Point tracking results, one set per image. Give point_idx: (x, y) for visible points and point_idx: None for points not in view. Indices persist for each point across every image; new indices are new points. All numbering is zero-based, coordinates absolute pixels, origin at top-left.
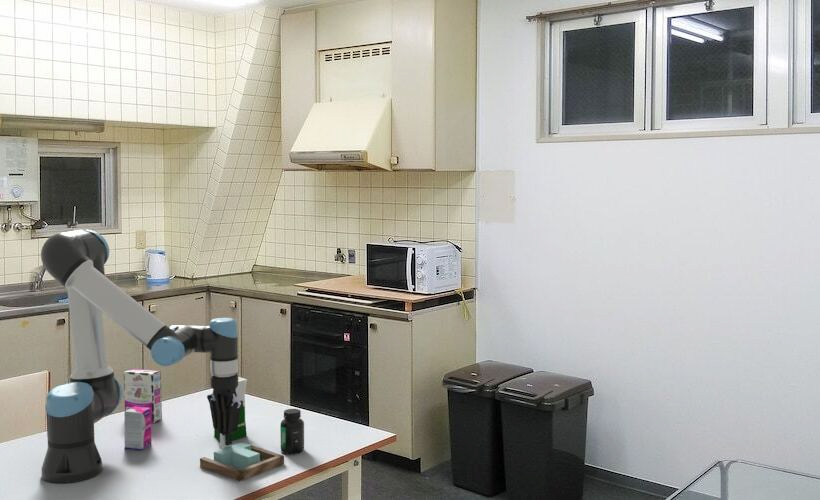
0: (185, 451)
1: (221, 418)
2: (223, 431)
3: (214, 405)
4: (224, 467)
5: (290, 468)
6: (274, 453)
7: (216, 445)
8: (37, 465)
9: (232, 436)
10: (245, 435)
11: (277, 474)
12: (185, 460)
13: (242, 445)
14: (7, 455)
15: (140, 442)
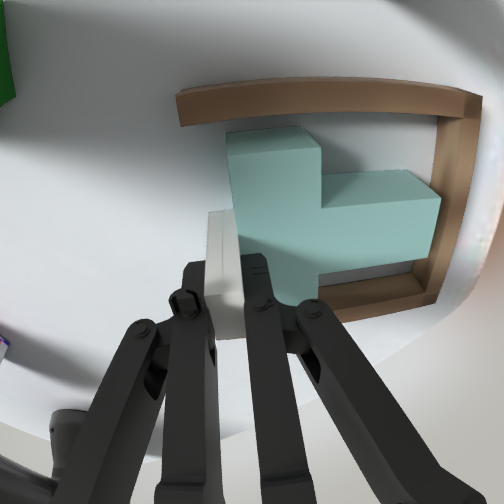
0: (44, 279)
1: (217, 423)
2: (212, 327)
3: (121, 500)
4: (368, 317)
5: (490, 108)
6: (440, 97)
7: (27, 163)
8: (48, 430)
9: (3, 83)
10: (1, 6)
11: (484, 175)
12: (129, 315)
13: (285, 187)
14: (3, 422)
15: (1, 361)
